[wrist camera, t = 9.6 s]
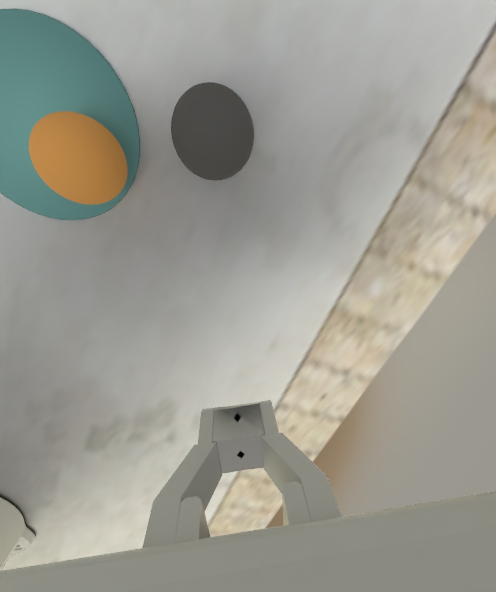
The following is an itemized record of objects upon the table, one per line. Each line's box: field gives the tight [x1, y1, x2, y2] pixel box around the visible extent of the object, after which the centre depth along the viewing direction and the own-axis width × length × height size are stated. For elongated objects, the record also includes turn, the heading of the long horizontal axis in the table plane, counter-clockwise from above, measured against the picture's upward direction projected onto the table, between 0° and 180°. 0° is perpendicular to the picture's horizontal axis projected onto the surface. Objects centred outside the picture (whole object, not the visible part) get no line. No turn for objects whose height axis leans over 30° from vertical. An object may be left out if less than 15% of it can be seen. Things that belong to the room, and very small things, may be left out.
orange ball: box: [29, 111, 128, 205], centre depth 17 cm, size 6×6×6 cm
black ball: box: [171, 82, 254, 180], centre depth 17 cm, size 6×6×6 cm
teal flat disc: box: [0, 9, 140, 220], centre depth 18 cm, size 13×13×1 cm
